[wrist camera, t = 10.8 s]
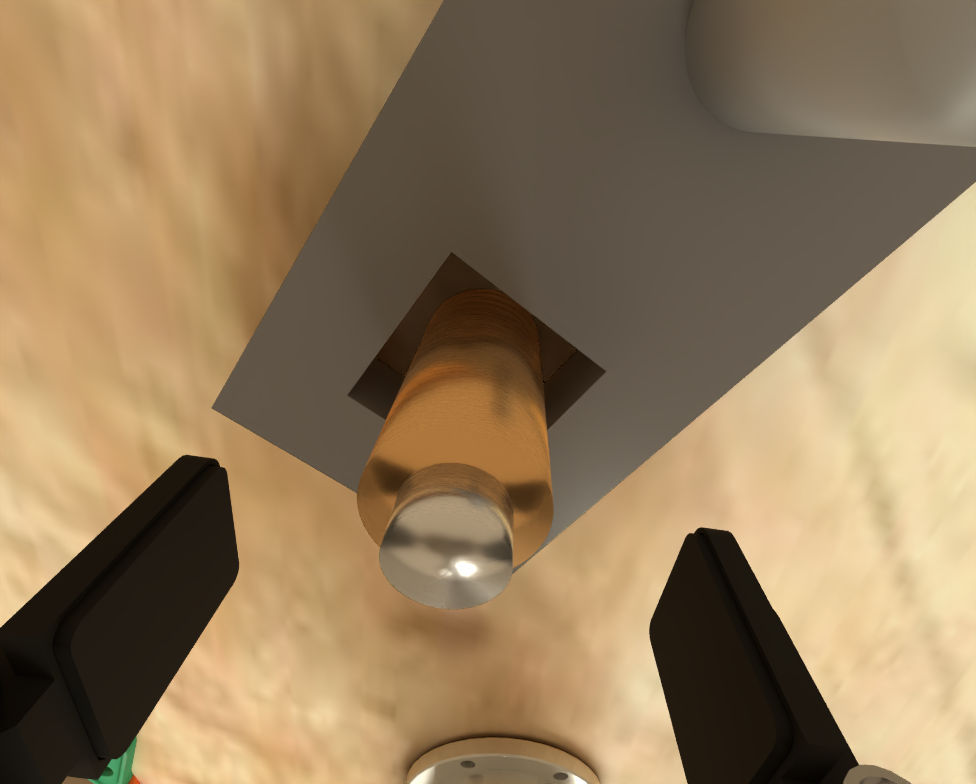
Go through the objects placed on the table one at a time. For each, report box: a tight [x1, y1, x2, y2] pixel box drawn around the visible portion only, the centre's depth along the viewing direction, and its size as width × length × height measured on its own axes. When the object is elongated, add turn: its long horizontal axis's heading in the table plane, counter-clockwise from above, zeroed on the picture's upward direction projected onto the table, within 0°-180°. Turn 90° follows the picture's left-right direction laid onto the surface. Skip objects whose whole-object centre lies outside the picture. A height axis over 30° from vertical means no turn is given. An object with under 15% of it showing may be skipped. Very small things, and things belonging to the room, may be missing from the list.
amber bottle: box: [357, 289, 554, 609], centre depth 13 cm, size 4×4×10 cm
